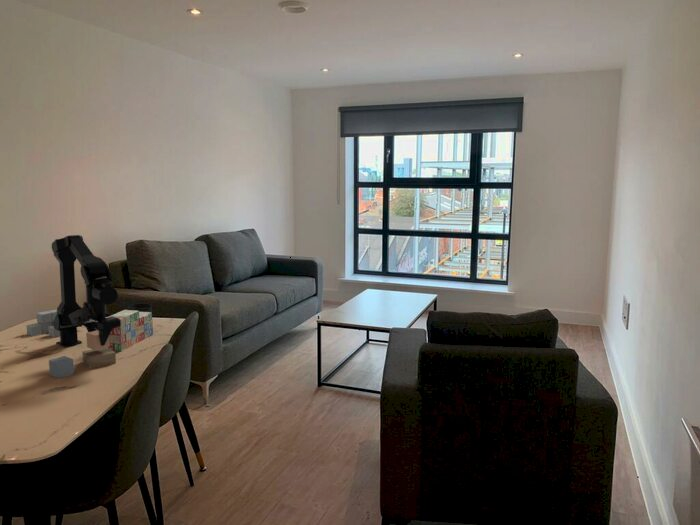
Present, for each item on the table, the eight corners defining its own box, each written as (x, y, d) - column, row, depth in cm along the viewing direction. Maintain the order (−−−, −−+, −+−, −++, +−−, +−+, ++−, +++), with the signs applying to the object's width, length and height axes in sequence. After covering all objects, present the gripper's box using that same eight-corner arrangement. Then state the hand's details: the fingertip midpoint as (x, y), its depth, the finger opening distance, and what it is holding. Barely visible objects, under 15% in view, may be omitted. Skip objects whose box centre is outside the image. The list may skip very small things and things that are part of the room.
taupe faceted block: (83, 362, 175) (82, 351, 175) (107, 357, 181) (107, 346, 180) (90, 369, 170) (90, 357, 169) (115, 363, 175) (115, 352, 175)
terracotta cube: (87, 347, 174) (86, 332, 173) (101, 343, 178) (100, 329, 177) (95, 350, 171) (94, 335, 170) (109, 346, 175) (108, 332, 174)
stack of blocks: (138, 333, 208) (137, 303, 206) (153, 334, 207) (152, 304, 205) (105, 350, 187) (104, 317, 185) (121, 352, 186) (120, 319, 184)
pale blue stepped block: (26, 334, 203) (25, 315, 201) (57, 327, 213) (56, 309, 211) (43, 340, 196) (41, 320, 195) (74, 333, 206) (73, 313, 205)
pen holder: (157, 328, 215) (156, 305, 213) (137, 334, 207) (136, 310, 205) (142, 324, 220) (141, 302, 218) (122, 330, 212) (121, 306, 210)
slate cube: (49, 375, 163) (48, 360, 163) (65, 370, 167) (64, 355, 167) (58, 378, 161) (56, 363, 160) (74, 374, 165) (73, 359, 164)
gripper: (56, 298, 170) (59, 344, 173) (87, 307, 160) (90, 356, 162) (89, 293, 179) (91, 336, 182) (121, 301, 169) (123, 347, 172)
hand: (98, 343), depth 174 cm, fingers closed on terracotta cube, 5 cm apart
